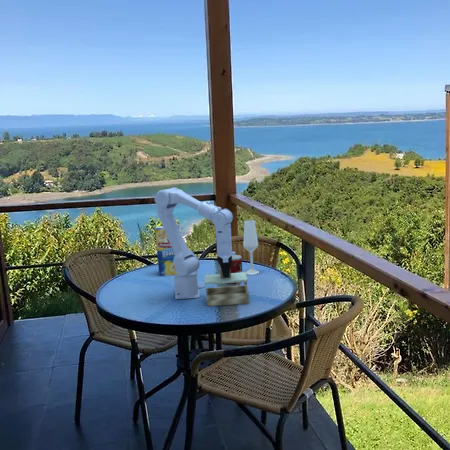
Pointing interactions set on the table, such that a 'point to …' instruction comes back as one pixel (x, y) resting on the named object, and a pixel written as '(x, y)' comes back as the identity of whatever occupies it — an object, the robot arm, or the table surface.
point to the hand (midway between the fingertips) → (226, 276)
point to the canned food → (236, 265)
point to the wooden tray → (227, 295)
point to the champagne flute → (250, 242)
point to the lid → (220, 279)
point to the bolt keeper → (244, 282)
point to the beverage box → (164, 253)
